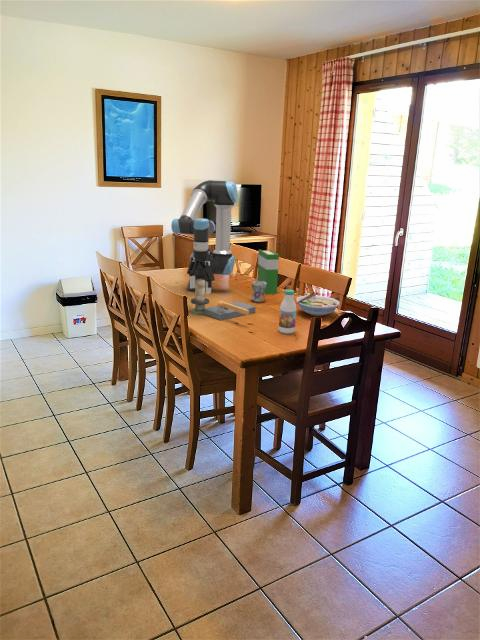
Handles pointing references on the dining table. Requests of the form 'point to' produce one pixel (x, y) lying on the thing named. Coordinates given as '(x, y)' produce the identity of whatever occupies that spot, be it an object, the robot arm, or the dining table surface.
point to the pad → (196, 311)
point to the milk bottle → (287, 313)
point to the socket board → (228, 311)
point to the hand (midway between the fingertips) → (200, 290)
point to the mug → (258, 291)
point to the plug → (199, 296)
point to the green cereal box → (268, 270)
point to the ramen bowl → (317, 304)
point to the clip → (233, 307)
